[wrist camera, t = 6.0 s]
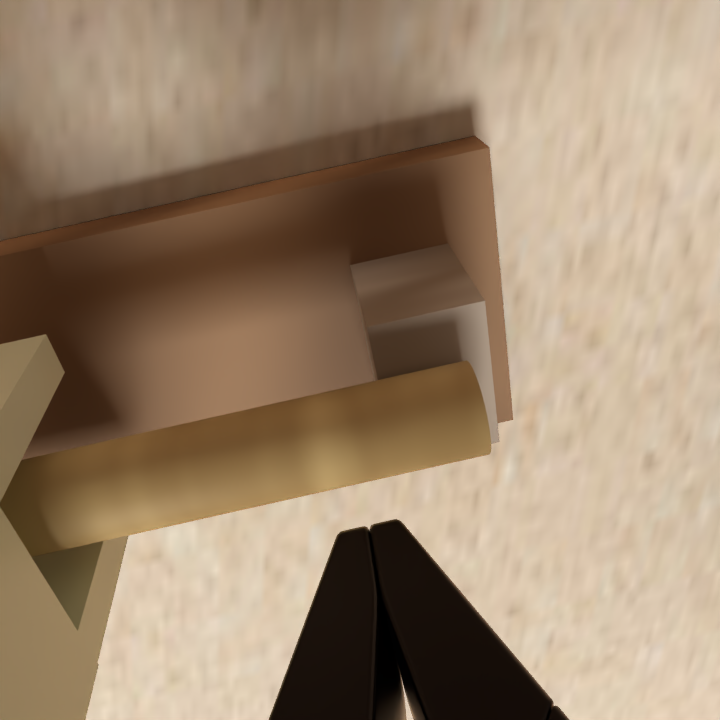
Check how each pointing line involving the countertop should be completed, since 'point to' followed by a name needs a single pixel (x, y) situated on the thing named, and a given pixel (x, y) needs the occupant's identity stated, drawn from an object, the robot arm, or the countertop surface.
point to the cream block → (45, 569)
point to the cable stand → (260, 344)
